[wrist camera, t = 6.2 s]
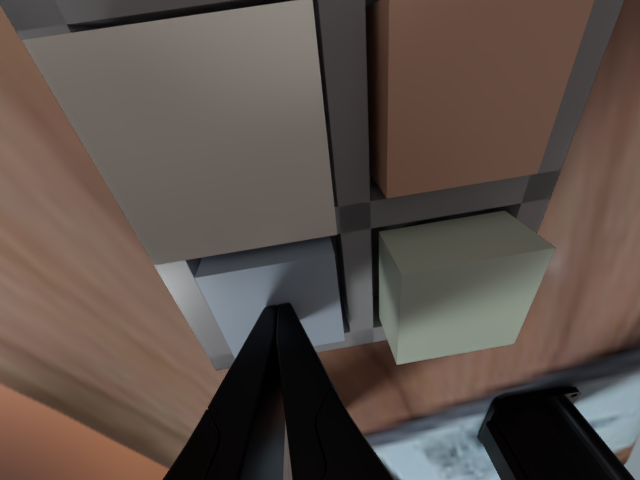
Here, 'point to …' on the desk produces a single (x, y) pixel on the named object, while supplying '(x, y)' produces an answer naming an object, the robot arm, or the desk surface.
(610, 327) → the desk surface
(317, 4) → the keypad board
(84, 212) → the desk surface
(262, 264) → the slate-blue key
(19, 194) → the desk surface
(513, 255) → the sage key
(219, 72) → the cream key
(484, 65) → the terracotta key
